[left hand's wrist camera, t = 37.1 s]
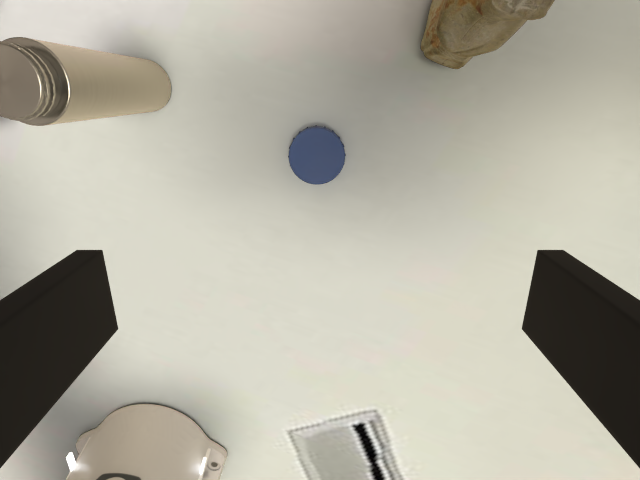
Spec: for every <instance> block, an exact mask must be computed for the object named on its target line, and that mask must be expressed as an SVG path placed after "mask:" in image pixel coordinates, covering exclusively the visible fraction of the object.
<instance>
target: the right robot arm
mask: <svg viewBox="0 0 640 480" xmlns="http://www.w3.org/2000/svg"><path fill="white" fill-rule="evenodd" d="M76 449H77V451H78V454H79V456H78V458H77V460H76V462H75V459H74V456H73V453H72V452H70V453H69V454H68V456H67V457H66V459H67V462H68V465H69V468H70V472H69V474H68V476H67V478H66V480H219V478H220V475H221V472H222V469H223V466H224V463H225V461H226V458H227V451H226V450H225V449H224V448H223V447H222V446H220V445H219V444H217V443H215V442H214V441H212V440H210V439H209V438H208V437H207V436H206V435H205V433H204V432H203V431H202V429H201V428H200V427H199V426H198V425H197V424H196V423H195V422H194V421H193V420H191V419H190V418H189V417H187V416H186V415H184V414H182V413H180V412H178V411H176V410H174V409H171V408H168V407H165V406H160V405H154V404H136V405H130V406H126V407H123V408H120V409H118V410H116V411H114V412H113V413H111V414H110V415H109V416H107V417H106V418H105V419H104V421H103V422H102V423H101V424H100V425H99V426H98V427H97V428H95V429H93V430H90V431H88V432H86V433H84V434H82V435H81V436H80V437H79V439H78V441H77V443H76Z"/></svg>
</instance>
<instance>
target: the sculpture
mask: <svg viewBox="0 0 640 480" xmlns="http://www.w3.org/2000/svg"><path fill="white" fill-rule="evenodd" d="M554 1H555V0H432V3H431V7H430V11H429V16H428V20H427V25H426V29H425V32H424V36H423V39H422V42H421V50H422V51H423V52H424V55H425V57H426V58H428V59H430V60H432V61H434V62H436V63H439V64H441V65H444V66H447V67H450V68H453V69H459V68H461V67H463V66H464V65H465V64H466V63H467V62H468V61H469V60H470V59H471V58H472V57H473V56H476V55H480V54H484V53H488V52H491V51H494V50H496V49H498V48H499V47H501V46H502V45H503V44H504V43H505V42H506V41H507V40H508V39H509V38H510V37H511V36H512V35H513V34H514V33H515V32H516V31H517V30H518V29H519V28H520V27H521V26H522V25H523V24H524V23H525V22H526V21H527V20H535V19H540V18H543V17H544V16H545V15H546V13H547V11H548V10H549V8H550V7H551V5H552V4H553V2H554Z"/></svg>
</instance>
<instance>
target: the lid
mask: <svg viewBox="0 0 640 480" xmlns="http://www.w3.org/2000/svg"><path fill="white" fill-rule="evenodd" d="M343 147H344V145H343V144H342V143H341V140H340V137H339V136H337V135H336V134H335V133H334V131H333V130H332V131H331V130H330V129H328V128H326V127H325V126H324V127H321V126H317V125H316V126H313V127H309V128H308V127H307V128H306V129H304V130H303V131H300V132H299V134H298V135H297V136H296V137H295V138H294V139H293V142H292V144H291V146H290V147H289V149H290V150H289V156H288V157H289V162H290V166H291V168H292V170H293V172H294V173H295V174H296V175H297V176H298V177H299V178H300V179H301V180H303V181H305V182H307V183H310V184H324V183H327V182H329V181H331V180H333V179H334V178H335V177H336V176H337V175H338V174H339V173H340V171H341V170H342V167H343V165H344V160H345V152H344V148H343Z"/></svg>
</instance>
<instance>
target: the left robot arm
mask: <svg viewBox="0 0 640 480" xmlns="http://www.w3.org/2000/svg"><path fill="white" fill-rule="evenodd" d="M117 330H118V326H117V321H116V316H115V311H114V306H113V301H112V296H111V291H110V286H109V281H108V276H107V271H106V266H105V261H104V256H103V251H102V250H76V251H75V252H73V253H72V254H70V255H69V256H67V257H66V258H64V259H63V260H61V261H60V262H58V263H56V264H55V265H53V266H52V267H50V268H49V269H47V270H46V271H44V272H43V273H41V274H40V275H38V276H37V277H35V278H34V279H32V280H31V281H29V282H28V283H26V284H24V285H23V286H21V287H20V288H18V289H17V290H15V291H14V292H12V293H11V294H9V295H8V296H6V297H5V298H3V299H2V300H0V468H1V467H2V466H3V464H4V463H5V462H6V461H7V460H8V458H9V457H10V456H11V455H12V454H13V453H14V451H15V450H16V449H17V448H18V447H19V445H20V444H21V443H22V442H23V441H24V440H25V438H26V437H27V436H28V435H29V434H30V432H31V431H32V430H33V429H34V428H35V427H36V425H37V424H38V423H39V422H40V421H41V419H42V418H43V417H44V416H45V415H46V414H47V412H48V411H49V410H50V409H51V408H52V406H53V405H54V404H55V403H56V402H57V401H58V399H59V398H60V397H61V396H62V395H63V393H64V392H65V391H66V390H67V389H68V388H69V386H70V385H71V384H72V383H73V382H74V380H75V379H76V378H77V377H78V376H79V375H80V373H81V372H82V371H83V370H84V369H85V367H86V366H87V365H88V364H89V363H90V362H91V360H92V359H93V358H94V357H95V356H96V354H97V353H98V352H99V351H100V350H101V349H102V347H103V346H104V345H105V344H106V343H107V341H108V340H109V339H110V338H111V337H112V336H113V334H114V333H115V332H116V331H117ZM522 330H523V331H524V332H525V333H526V334H527V336H528V337H529V338H530V339H531V340H532V341H533V343H534V344H535V345H536V346H537V347H538V349H539V350H540V351H541V352H542V353H543V354H544V356H545V357H546V358H547V359H548V360H549V362H550V363H551V364H552V365H553V366H554V367H555V369H556V370H557V371H558V372H559V373H560V375H561V376H562V377H563V378H564V379H565V380H566V382H567V383H568V384H569V385H570V386H571V388H572V389H573V390H574V391H575V392H576V393H577V395H578V396H579V397H580V398H581V399H582V401H583V402H584V403H585V404H586V405H587V406H588V408H589V409H590V410H591V411H592V412H593V414H594V415H595V416H596V417H597V418H598V419H599V421H600V422H601V423H602V424H603V425H604V427H605V428H606V429H607V430H608V431H609V432H610V434H611V435H612V436H613V437H614V438H615V440H616V441H617V442H618V443H619V444H620V445H621V447H622V448H623V449H624V450H625V451H626V453H627V454H628V455H629V456H630V457H631V458H632V460H633V461H634V462H635V463H636V464H637V466H638V467H639V468H640V300H638V299H637V298H635V297H634V296H632V295H631V294H629V293H628V292H626V291H625V290H623V289H622V288H620V287H619V286H617V285H616V284H614V283H612V282H611V281H609V280H608V279H606V278H605V277H603V276H602V275H600V274H599V273H597V272H596V271H594V270H593V269H591V268H590V267H588V266H587V265H585V264H584V263H582V262H580V261H579V260H577V259H576V258H574V257H573V256H571V255H570V254H568V253H567V252H565V251H564V250H538V251H537V256H536V261H535V266H534V271H533V276H532V281H531V286H530V291H529V296H528V301H527V306H526V311H525V316H524V321H523V326H522Z"/></svg>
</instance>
